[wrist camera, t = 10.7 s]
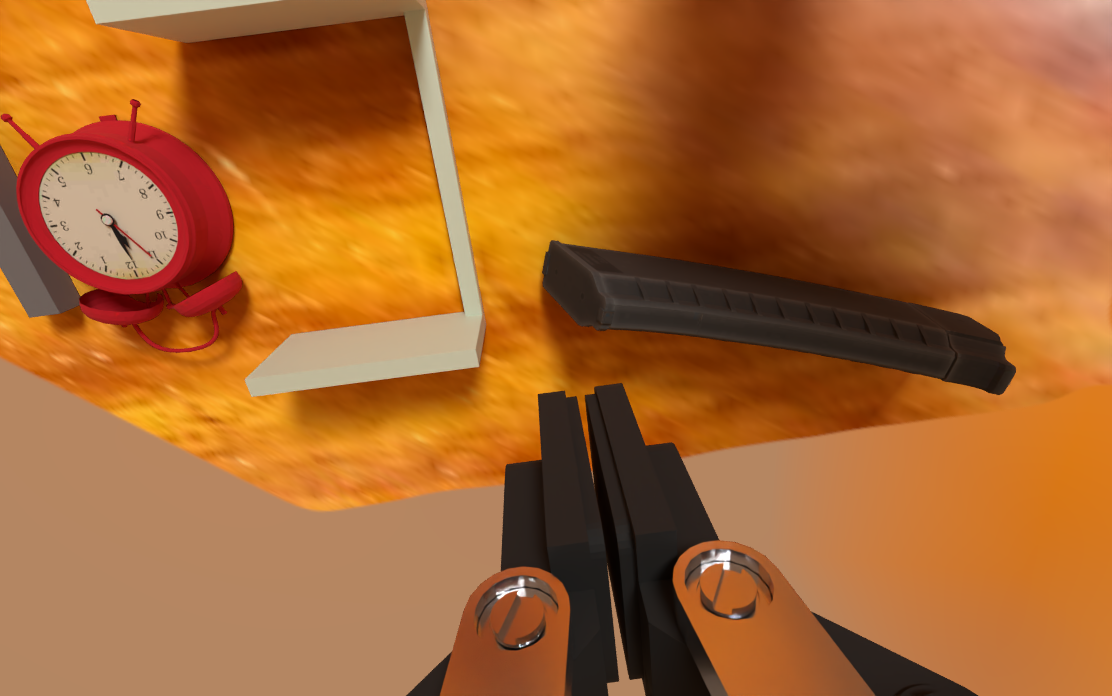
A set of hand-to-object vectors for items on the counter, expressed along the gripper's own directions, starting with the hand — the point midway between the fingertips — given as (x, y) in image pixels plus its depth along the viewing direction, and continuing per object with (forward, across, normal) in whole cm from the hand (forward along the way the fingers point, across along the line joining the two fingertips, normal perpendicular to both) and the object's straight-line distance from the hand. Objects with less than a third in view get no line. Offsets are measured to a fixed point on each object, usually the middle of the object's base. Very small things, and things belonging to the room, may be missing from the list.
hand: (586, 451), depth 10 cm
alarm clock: (+28, +25, -2) cm, 37 cm away
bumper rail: (+27, +33, -5) cm, 43 cm away
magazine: (+27, -14, +8) cm, 32 cm away
